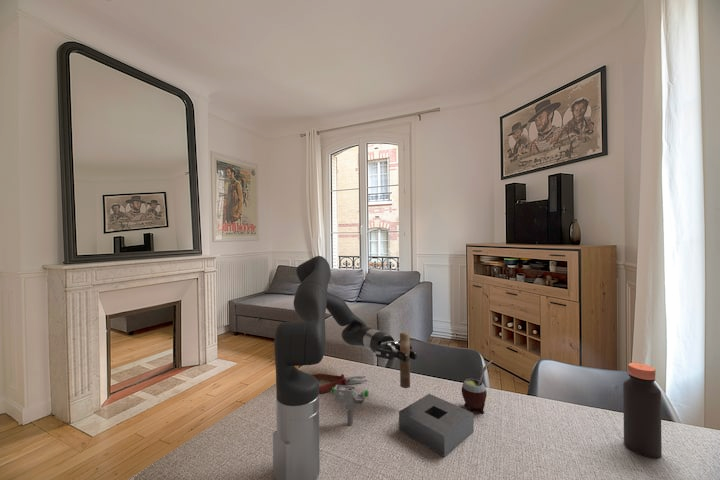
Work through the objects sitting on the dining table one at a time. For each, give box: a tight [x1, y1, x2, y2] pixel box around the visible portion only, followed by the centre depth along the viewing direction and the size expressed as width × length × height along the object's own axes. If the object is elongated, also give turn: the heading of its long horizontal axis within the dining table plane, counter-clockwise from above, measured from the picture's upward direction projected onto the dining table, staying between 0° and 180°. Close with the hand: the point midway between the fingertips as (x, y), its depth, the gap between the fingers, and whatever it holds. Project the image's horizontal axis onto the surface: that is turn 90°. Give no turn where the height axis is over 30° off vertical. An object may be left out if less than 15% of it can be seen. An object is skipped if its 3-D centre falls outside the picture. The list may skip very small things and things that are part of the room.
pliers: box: [311, 373, 368, 395], centre depth 108 cm, size 12×21×3 cm, turn 102°
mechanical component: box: [331, 385, 369, 427], centre depth 84 cm, size 3×10×10 cm, turn 79°
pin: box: [399, 332, 411, 389], centre depth 94 cm, size 3×3×16 cm
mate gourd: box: [461, 359, 494, 415], centre depth 92 cm, size 8×8×15 cm
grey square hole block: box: [398, 393, 475, 458], centre depth 81 cm, size 14×14×5 cm
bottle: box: [622, 362, 663, 459], centre depth 74 cm, size 7×7×20 cm
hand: (411, 357), depth 91 cm, fingers closed on pin, 3 cm apart
